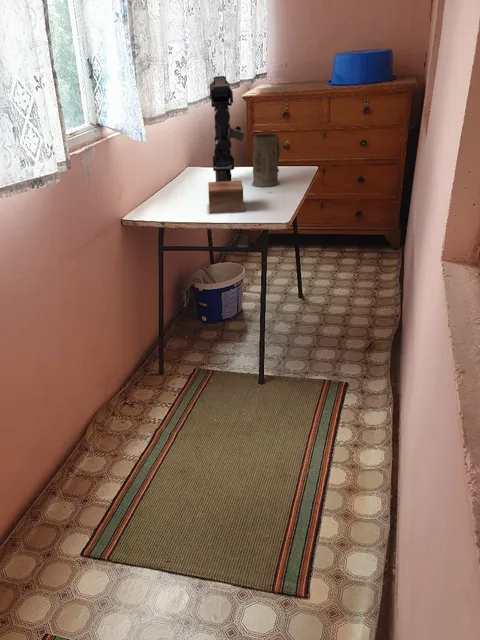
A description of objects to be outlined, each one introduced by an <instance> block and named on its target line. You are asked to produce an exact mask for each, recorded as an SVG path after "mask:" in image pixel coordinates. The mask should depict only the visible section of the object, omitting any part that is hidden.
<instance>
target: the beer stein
mask: <svg viewBox="0 0 480 640" xmlns="http://www.w3.org/2000/svg"><path fill="white" fill-rule="evenodd" d="M280 144H281V143H280V136H279V135H278V134H276V133H261V134H255V135H254V136H253V152H252V177H253V181H252V186H255V187H259V188H269V187H274V186H277V185H278V184H279V178H278V177H279V172H280V169H279V161H280V157H281V145H280Z"/></svg>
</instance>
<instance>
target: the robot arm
mask: <svg viewBox="0 0 480 640" xmlns="http://www.w3.org/2000/svg"><path fill="white" fill-rule="evenodd" d="M209 99H210V102H211V103H210V104H211V105H210V106H211V108H213V116H214V117H213V118H214V149H213V150H214V151H213V154H214V155H213V156H212V170H213V172H214V173H215V182H222V181H233V180H232V173H231V172H232V171H233V170H235V158H234V156H233V154H232V152H231V151H232V150H231V149H232V141H231V140H232V139H235V140H238V141H239V142H243V139H244V136H245V131H244V130H242V128H241V126H239V125H236V126H235V127H231V123H230V120H231V114H230V108H229V107H232V105H233V104H234V94H233V90H232V88H231V84H230V82H228V80H227V77H226V76H224V75H216V76H214V77H213V80H212V81H211V83H210V84H209Z"/></svg>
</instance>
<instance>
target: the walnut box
mask: <svg viewBox="0 0 480 640" xmlns="http://www.w3.org/2000/svg"><path fill="white" fill-rule="evenodd" d="M208 208H209V209H208V212H209V214H210V215H212V214H213V215H214V214H227V213H228V214H229V213H244V209H245V208H244V190H243V191H231V192H215V193H209V192H208Z"/></svg>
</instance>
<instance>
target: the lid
mask: <svg viewBox="0 0 480 640" xmlns="http://www.w3.org/2000/svg"><path fill="white" fill-rule="evenodd" d="M207 185H208V186H207V188H208V191H207V192H208V194H209V193H215V192H231V191H243V192H244V186H243V182H242V180H241V179H240V180H239V179H237V180H232V181H222V182H216V181H209V182H208V183H207Z"/></svg>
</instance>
